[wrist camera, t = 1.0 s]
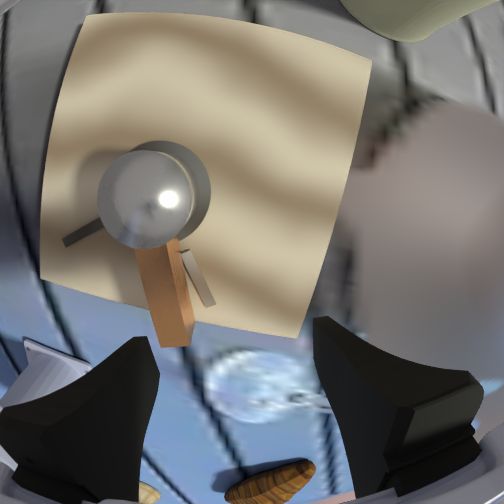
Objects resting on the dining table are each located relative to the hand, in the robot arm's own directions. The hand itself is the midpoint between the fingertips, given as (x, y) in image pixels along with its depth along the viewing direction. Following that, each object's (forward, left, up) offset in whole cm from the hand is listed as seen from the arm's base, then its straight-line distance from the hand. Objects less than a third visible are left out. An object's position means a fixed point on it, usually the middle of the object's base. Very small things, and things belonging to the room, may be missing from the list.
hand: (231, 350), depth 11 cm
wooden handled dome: (+1, +5, -8) cm, 9 cm away
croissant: (-27, -9, -10) cm, 30 cm away
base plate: (+6, +5, -9) cm, 12 cm away
